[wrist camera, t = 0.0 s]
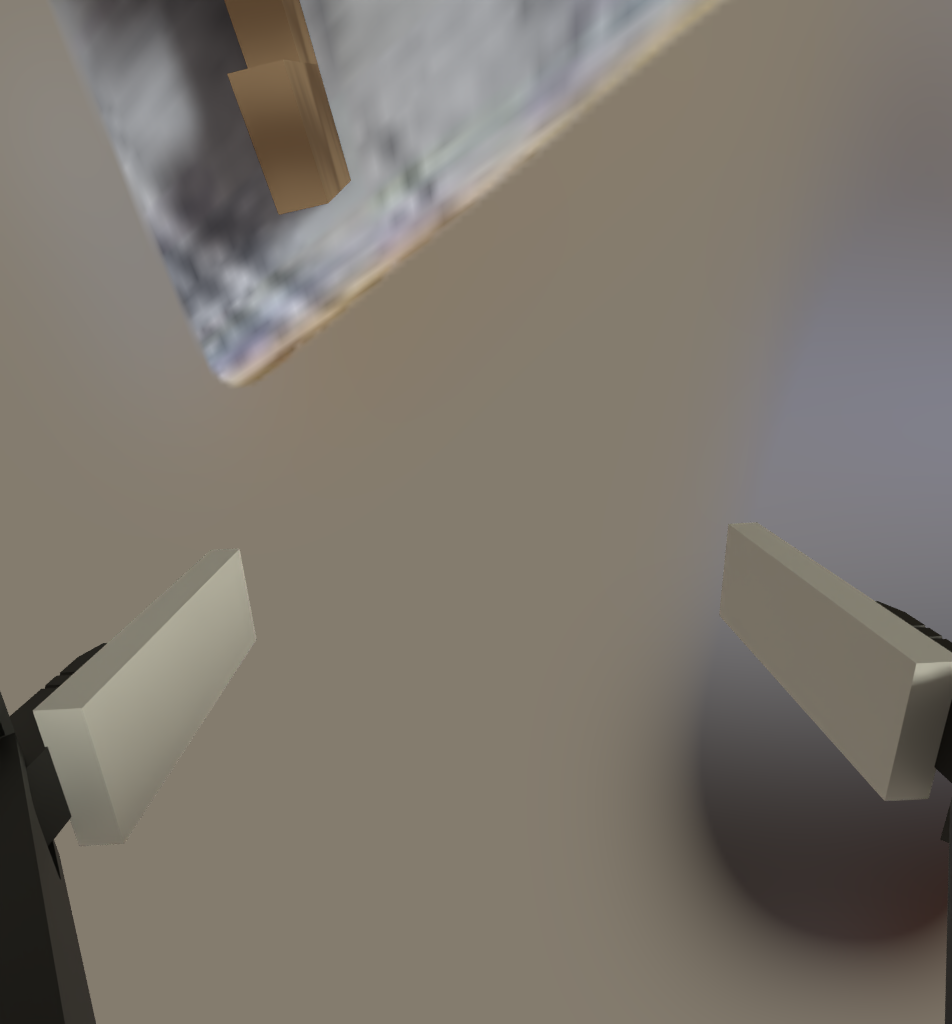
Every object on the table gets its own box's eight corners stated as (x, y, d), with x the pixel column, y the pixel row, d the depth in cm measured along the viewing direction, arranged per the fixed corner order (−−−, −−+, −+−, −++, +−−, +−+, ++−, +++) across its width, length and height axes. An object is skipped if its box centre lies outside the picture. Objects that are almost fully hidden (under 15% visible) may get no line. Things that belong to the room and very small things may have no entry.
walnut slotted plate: (174, -229, 24) (76, -339, 18) (229, -246, 24) (150, -363, 18) (310, 189, 34) (278, 214, 27) (350, 180, 34) (328, 203, 27)
